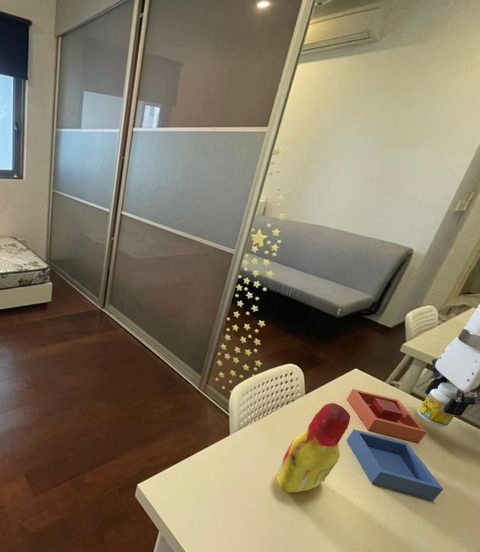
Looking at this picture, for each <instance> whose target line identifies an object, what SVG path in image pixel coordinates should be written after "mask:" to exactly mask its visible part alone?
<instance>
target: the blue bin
mask: <svg viewBox="0 0 480 552" xmlns="http://www.w3.org/2000/svg"><path fill="white" fill-rule="evenodd" d="M346 441H347V443H348V445H349V447H350V448H351V450H352V452H353V454H354V455H355V457H356V459H357V461H358V462H359V464H360V466H361V468H362V469H363V470H364V472H365V475H366V476H367V478H368V479H369V481H370V483H371V484H374V485H376V486H380V487H383V488H387V489H390V490H395V491H398V492H401V493H405V494H408V495H412V496H415V497H418V498H422V499H426V500H430V501H433V502H434V500H435V499H436V498H438V496H439V495H440V494H441V493H442V492H443V490H444V488H443V487H442V485H441V484H440V483H439V481H438V480H437V479H436V478H435V476H434V475H433V474H432V472H431V471H430V470H429V469H428V467H427V466H426V465H425V464H424V462H423V461H422V459H420V457H419V456H418V455H417V453H416V452H415V451H414V450H413V448H412V447H411V446H410V444H409V443H408V442H405V441H402V440H398V439H393V438H390V437H386V436H382V435H378V434H374V433H370V432H366V431H362V430H359V429H355V428H353V429H352V431H351V432H350V434H349V435H348V437H347V439H346Z"/></svg>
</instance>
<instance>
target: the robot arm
mask: <svg viewBox="0 0 480 552" xmlns="http://www.w3.org/2000/svg"><path fill="white" fill-rule="evenodd" d="M431 365H432V375H431V377H430V378H431V382H430V383H429V385H428V386H427V388H426V389H425V390H424V394H425V395H427V396H428V394H429V393H430V391H431V390H433V389H438V386H439V385H440V384H441V383H447V384H449V383H450V382H451V383H452V385H453V386H455V387H457V388H458V390H457V393H456V397H455V399H453V398H452V399H451V400H450V401H449V402H448V404H447V405H446V407H445V408H444V410H443V411H444V412H445V413H448V414H452V415H455V416H457V417H461V416H462V415H463V414H464V413H465V412H466V410H467V409H468V407H469V406H470V405H471V406H474V405H480V303H479V304H478V306H477V308H476V309H475V311H474V312H473V313H472V315H471V316H470V318H469V320H467V322H466V324H465V326H463V329H462V330H461V331H460V333H459V334H458V336H456V337H455V338H454V339H453V340H451V342H450V343H449V344H448V345H447V346H446V347H445V348H444V350H443V351H442V352H441V353H440V355H439V357H438V358H434V359H431ZM465 394H468V395H467V396H465Z"/></svg>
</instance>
